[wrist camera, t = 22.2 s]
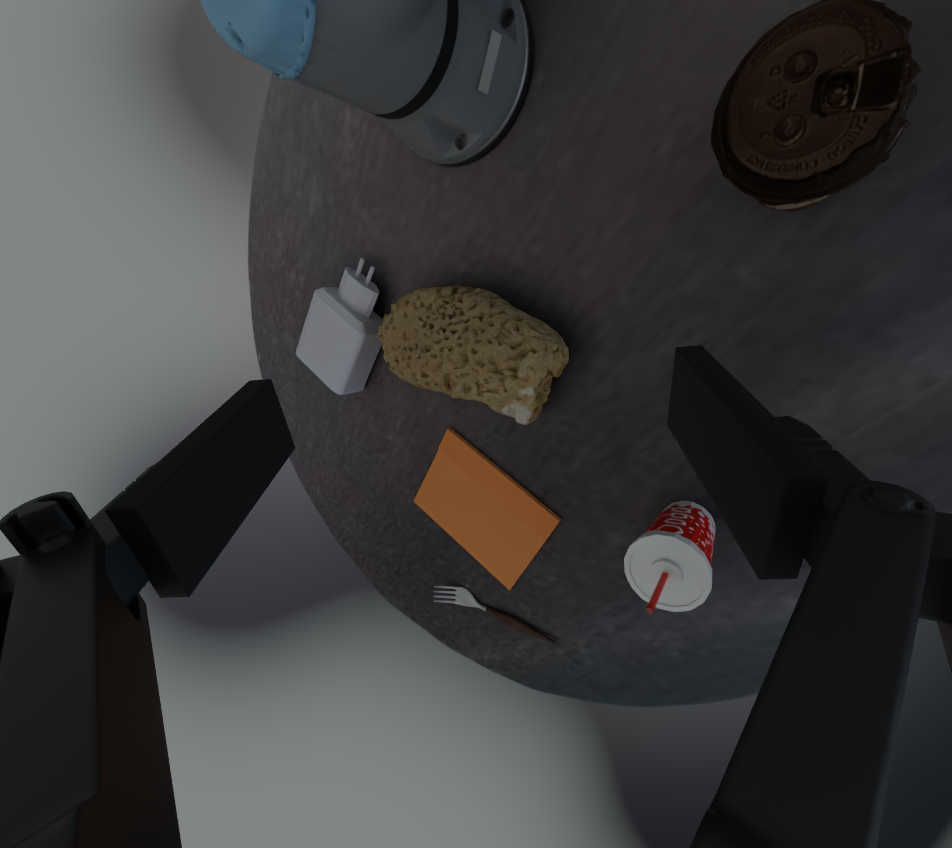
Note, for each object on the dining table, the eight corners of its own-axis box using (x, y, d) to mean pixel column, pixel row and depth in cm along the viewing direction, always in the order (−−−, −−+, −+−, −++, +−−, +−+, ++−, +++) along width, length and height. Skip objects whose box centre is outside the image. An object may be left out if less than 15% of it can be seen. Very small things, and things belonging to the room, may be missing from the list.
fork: (556, 649, 53) (549, 660, 51) (442, 594, 61) (433, 602, 59) (558, 630, 52) (551, 641, 50) (443, 577, 60) (433, 585, 58)
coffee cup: (922, 139, 29) (999, 49, 18) (799, 253, 33) (804, 235, 23) (806, 61, 31) (815, -59, 20) (705, 179, 35) (670, 131, 25)
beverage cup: (733, 504, 39) (710, 590, 28) (717, 567, 41) (689, 671, 30) (657, 483, 42) (609, 553, 31) (645, 543, 44) (596, 629, 33)
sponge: (589, 325, 44) (411, 238, 47) (566, 356, 38) (364, 253, 41) (538, 428, 52) (389, 347, 55) (512, 467, 46) (347, 373, 49)
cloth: (414, 500, 60) (411, 502, 59) (450, 427, 54) (447, 428, 53) (510, 589, 54) (508, 591, 54) (561, 519, 49) (559, 521, 48)
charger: (410, 285, 52) (366, 390, 60) (357, 243, 55) (322, 348, 63) (380, 284, 49) (337, 396, 56) (325, 239, 51) (291, 351, 59)
